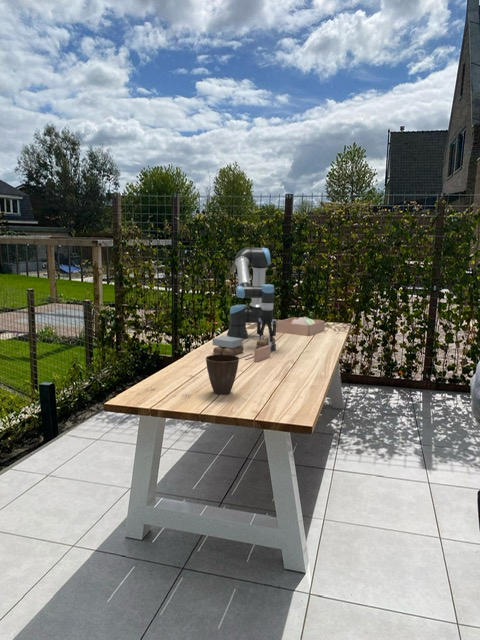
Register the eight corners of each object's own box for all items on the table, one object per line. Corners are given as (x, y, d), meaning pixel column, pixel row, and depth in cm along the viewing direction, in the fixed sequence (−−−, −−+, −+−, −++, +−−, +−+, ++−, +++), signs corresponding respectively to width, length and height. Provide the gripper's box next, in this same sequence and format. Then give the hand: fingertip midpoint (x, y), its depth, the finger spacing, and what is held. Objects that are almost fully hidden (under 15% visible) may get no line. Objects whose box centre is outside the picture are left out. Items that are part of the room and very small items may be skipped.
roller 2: (236, 351, 307) (236, 343, 306) (243, 353, 304) (243, 345, 304) (222, 356, 294) (222, 347, 293) (229, 358, 291) (229, 349, 290)
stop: (267, 356, 296) (267, 345, 295) (270, 356, 295) (270, 345, 294) (254, 361, 282) (254, 349, 281) (257, 362, 281) (257, 350, 280)
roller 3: (268, 343, 315) (268, 336, 314) (275, 344, 312) (275, 337, 312) (256, 347, 301) (256, 340, 301) (263, 348, 299) (263, 341, 298)
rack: (267, 349, 316) (267, 342, 315) (275, 350, 313) (276, 343, 312) (255, 353, 302) (255, 346, 302) (263, 355, 299) (264, 347, 299)
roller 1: (227, 350, 310) (227, 342, 310) (234, 351, 308) (234, 343, 307) (213, 355, 297) (213, 346, 296) (220, 356, 294) (220, 347, 293)
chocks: (227, 350, 310) (227, 349, 310) (259, 355, 299) (259, 354, 299) (213, 354, 297) (213, 354, 297) (245, 360, 285) (246, 359, 285)
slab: (223, 342, 309) (223, 335, 308) (242, 344, 302) (242, 338, 301) (212, 345, 299) (212, 338, 298) (231, 348, 292) (232, 341, 291)
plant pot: (198, 391, 223) (199, 357, 220) (222, 385, 233) (223, 352, 231) (220, 399, 212) (221, 363, 210) (245, 392, 223) (246, 358, 220)
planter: (292, 326, 405) (293, 317, 403) (324, 330, 391) (324, 320, 389) (276, 332, 379) (276, 321, 378) (308, 336, 365) (309, 325, 364)
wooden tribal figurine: (285, 323, 394) (314, 315, 388) (289, 340, 391) (318, 332, 386) (281, 321, 380) (311, 312, 374) (286, 339, 378) (316, 331, 372)
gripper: (251, 308, 305) (250, 345, 308) (277, 311, 296) (275, 349, 299) (257, 307, 311) (256, 343, 315) (282, 310, 302) (281, 347, 306)
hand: (265, 346), depth 307 cm, fingers closed on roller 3, 5 cm apart
